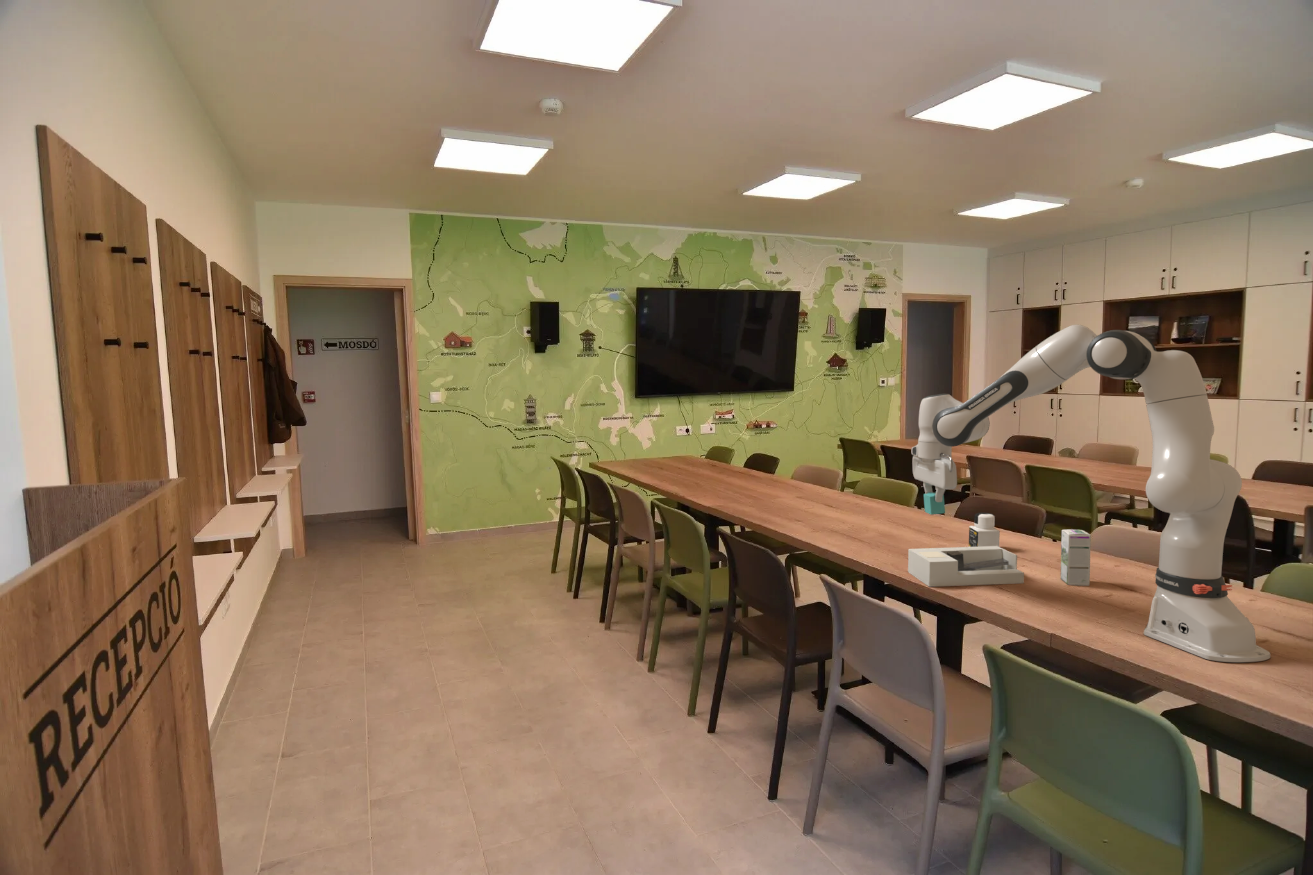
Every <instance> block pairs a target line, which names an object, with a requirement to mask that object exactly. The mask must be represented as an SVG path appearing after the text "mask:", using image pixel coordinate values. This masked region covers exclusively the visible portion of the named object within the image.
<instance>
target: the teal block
mask: <svg viewBox="0 0 1313 875" xmlns="http://www.w3.org/2000/svg"><path fill="white" fill-rule="evenodd" d="M935 494H936V492H934V493H928V494H925V493H923V505H924V512H925V513H926V514H928V515H930V516H933V515H939V514H945V513H946V511H945V510H946V509H945V506H946V505H945V495H944V494H943V497H942V502H936V501H934V495H935Z"/></svg>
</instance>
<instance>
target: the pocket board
mask: <svg viewBox="0 0 1313 875" xmlns="http://www.w3.org/2000/svg"><path fill="white" fill-rule="evenodd" d="M953 551H959V552H961V553H962V554H963V561H964V564H966V563H973V562H981V561H988V560H996V559H1005V560H1007V561H1008V562H1009V565H1002V566H994V567H987V568H979V569H972V570H965V571H958V561H957V560H955V559H953V558H952V557H950V556H948V555H947V552H953ZM907 555H908V556H907V557H908V559H907V560H908V563H907V564H908V565H907V572H908V573H909V574H910V575H912V576H913V577H915V578H916V579H917V580H919V581H920V582H922V583H923V584H924V585H926V586H928V587H956V586H957V587H958V586H959V587H960V586H985V585H986V586H987V585H1009V584H1011V585H1012V584H1025V582H1024V581H1025V572H1023V571H1021V570H1019V569H1018V555H1017V554H1015V553H1014V552H1011V551H1008V550H1006V549H1005V548H1002V547H1000V546H999V547H998V546H981V547H969V546H956V547H929V548H925V547H924V548H908V554H907Z"/></svg>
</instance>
